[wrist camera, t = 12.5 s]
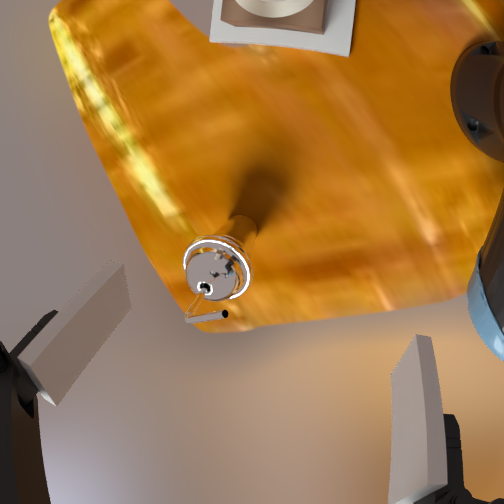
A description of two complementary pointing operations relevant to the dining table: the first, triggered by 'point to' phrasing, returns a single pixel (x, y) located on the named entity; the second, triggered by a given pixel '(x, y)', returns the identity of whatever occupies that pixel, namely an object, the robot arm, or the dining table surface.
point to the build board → (331, 42)
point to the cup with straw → (220, 265)
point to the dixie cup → (273, 0)
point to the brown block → (276, 14)
